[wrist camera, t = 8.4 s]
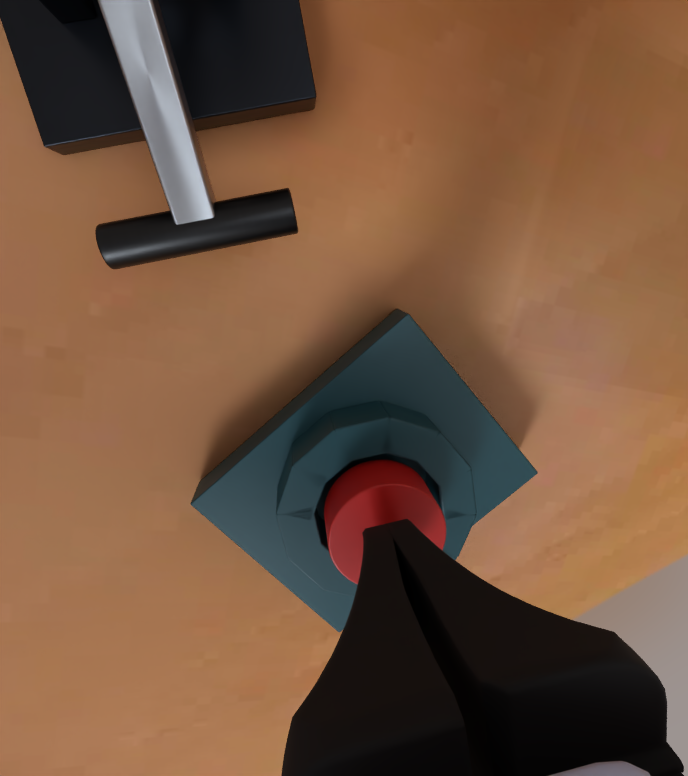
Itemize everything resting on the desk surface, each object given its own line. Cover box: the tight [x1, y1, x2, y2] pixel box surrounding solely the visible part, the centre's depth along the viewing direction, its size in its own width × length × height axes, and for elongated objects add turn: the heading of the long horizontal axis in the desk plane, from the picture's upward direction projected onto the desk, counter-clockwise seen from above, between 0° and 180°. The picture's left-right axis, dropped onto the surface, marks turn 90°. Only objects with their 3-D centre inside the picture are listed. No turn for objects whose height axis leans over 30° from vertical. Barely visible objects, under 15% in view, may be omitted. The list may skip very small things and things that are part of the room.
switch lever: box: [96, 0, 298, 269], centre depth 10 cm, size 10×5×2 cm, turn 10°
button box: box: [191, 309, 537, 632], centre depth 17 cm, size 10×8×4 cm
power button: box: [324, 460, 446, 584], centre depth 15 cm, size 4×4×2 cm
